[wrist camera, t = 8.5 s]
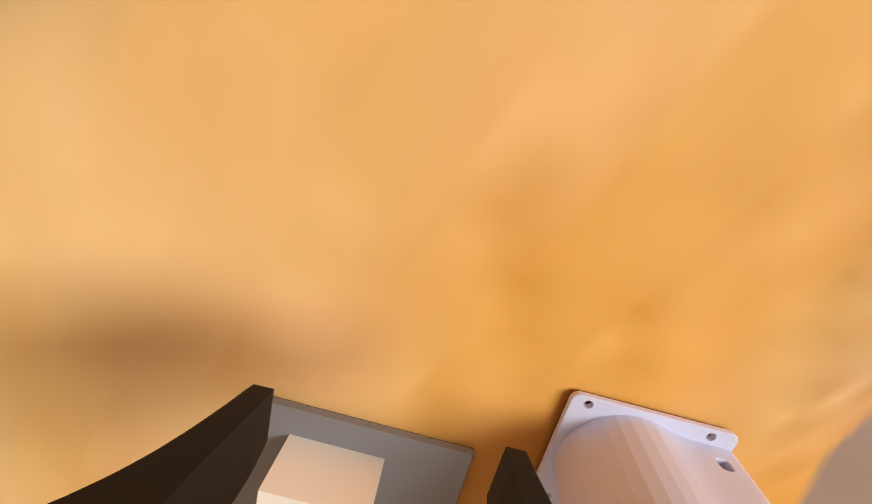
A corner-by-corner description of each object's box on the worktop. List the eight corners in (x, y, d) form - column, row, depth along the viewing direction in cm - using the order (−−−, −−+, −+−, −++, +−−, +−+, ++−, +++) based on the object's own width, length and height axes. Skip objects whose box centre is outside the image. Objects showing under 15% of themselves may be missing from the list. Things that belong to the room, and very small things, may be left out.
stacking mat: (473, 448, 26) (473, 455, 25) (433, 559, 29) (433, 566, 28) (249, 390, 25) (245, 395, 25) (236, 507, 29) (232, 513, 28)
